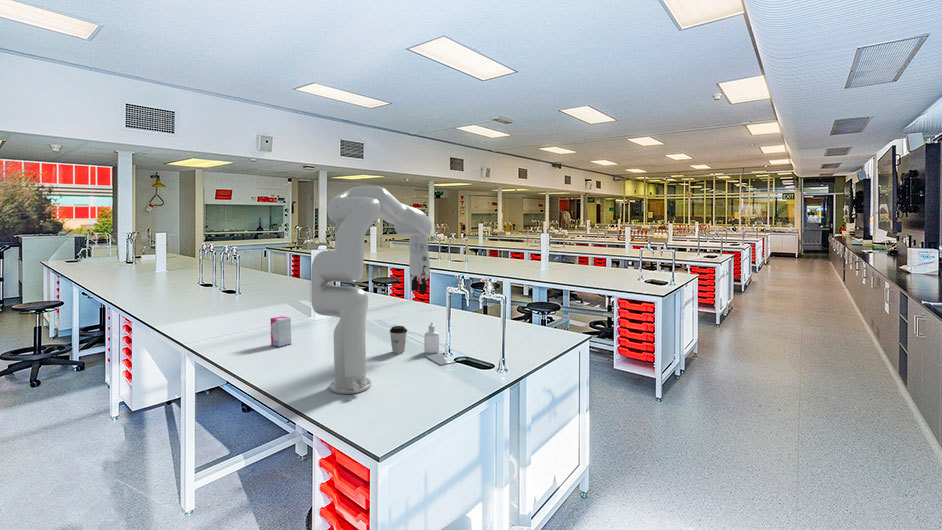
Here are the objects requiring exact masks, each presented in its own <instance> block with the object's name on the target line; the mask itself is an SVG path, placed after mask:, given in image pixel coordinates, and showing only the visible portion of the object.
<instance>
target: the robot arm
mask: <svg viewBox="0 0 942 530" xmlns="http://www.w3.org/2000/svg"><path fill="white" fill-rule="evenodd" d="M326 212H327V216H328V218H329V219H330V220H331V221H332V222H334V223H336V224H340V225H339V226H338V228H337V230H336V233H335V243H334V247H335V248H334V250H322V251H320V252H318V253H317V254H316V255H315V256H314V259H313V260H312V263H311V271H310V272H311V273H310V276H311V278H310V279H311V280H310V285H311V286H310V287H311V288H310V289H311V290H310V302H311V306H312V310H313V311H314V313H316V314H317V315H319V316H327V317H336V318H339V320H338V323H336V325H335V328H334V330H333V360H334V361H333V363H334V365H333V366H334V367H333V368H334V369H333V370H334V380H333V381H331V382H330V383H329V390H330V391H331V392H332V393H336V394H341V395H342V394H343V395H348V394H350V395H351V394H358V393H361V392H364V391H366V390H368V389H369V388H371V387H372V380H371V379H369V378H368V377H367V362H366V321H367V320H366V319H367V312H368V306H369V297H368V295H367V293H366V291H365V290H364V289H362V288H359V287H355V286H349V285H348V286H345V285H335V282H338V283H356V282H358V281H360V280H361V279H362V278H363V276H364V275H363V274H364V264H365V261H364V260H365V237H366V234H367V231H368V230H369V229H370V227H371V225H373V223H374V222H375V221H376V220H377V219H378V218H379V217H380V218H381V219H382V220H383V221H385V222H386V223H388V224H392V225H394V227H393V228H394V231H395V233H396V235H397V234H398V235H399V236H401V237H408V238H409V247H408V248H409V267H408V269H409V271H408V273H409V276H410V277H409V278H410V282H411V283H410V287H411V289H410V290H411V291H412V292H416V291H418V293H419V294H427V292H428V291H427V289H428V280H429V277H430V275H431V268H430V267H431V265H430V255H429V235H430V234H431V233H432V230H433V225H432V221H431V220H430V218H429V217H428V215H426V213H425V212H424V211H421V210H420V209H417V208H415V207H412V206H410V205H408V204H405V203H402V202H400V201H399V200H398V199H397V198H396V197H395V196H394V195H393V194H392V193H390V192H389V190H387V189H386V188H384V187H383V186H379V185H361V186H354V187H351V188H349V189H347V190H345V191H343V192H341V193H339V194H338V195H335V196H334V197H333V198H331V199H330V200H329V202H328V205H327V208H326Z"/></svg>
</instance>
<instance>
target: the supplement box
mask: <svg viewBox="0 0 942 530" xmlns="http://www.w3.org/2000/svg"><path fill="white" fill-rule="evenodd" d="M291 319H292V318H291V317H289V316H284V315H283V316H282V315H281V316H277V317H276V316H275V317H271V318H270V345H271V347H275V348H279V349H280V348H283V346H284V347H287V345H288V346H291V345H292V322H291V321H292V320H291ZM290 344H291V345H290Z"/></svg>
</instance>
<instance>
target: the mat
mask: <svg viewBox="0 0 942 530" xmlns="http://www.w3.org/2000/svg"><path fill="white" fill-rule="evenodd" d="M443 353H444V352H441V353H440V352H438V353H432V354H428V355H425V356H424V357H425V358H426V359H428V360H430V361H431V360H432V362H433V361H434V362H433V363H435V362H436V363H435V364H437V363H438V364H439V366H440V365H442V366H445V364H447V362H446V360H445V359H444V356H443ZM438 364H437V365H438ZM447 365H448V364H447Z"/></svg>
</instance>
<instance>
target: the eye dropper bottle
mask: <svg viewBox="0 0 942 530" xmlns="http://www.w3.org/2000/svg"><path fill="white" fill-rule="evenodd" d="M423 345H424V353H425V354H430V353H431V354H439V353H440V334H439V332H438V331H436V326H435V325H434V323H433V322H430V325H428V331H427V332H425V333H424V344H423Z"/></svg>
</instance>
